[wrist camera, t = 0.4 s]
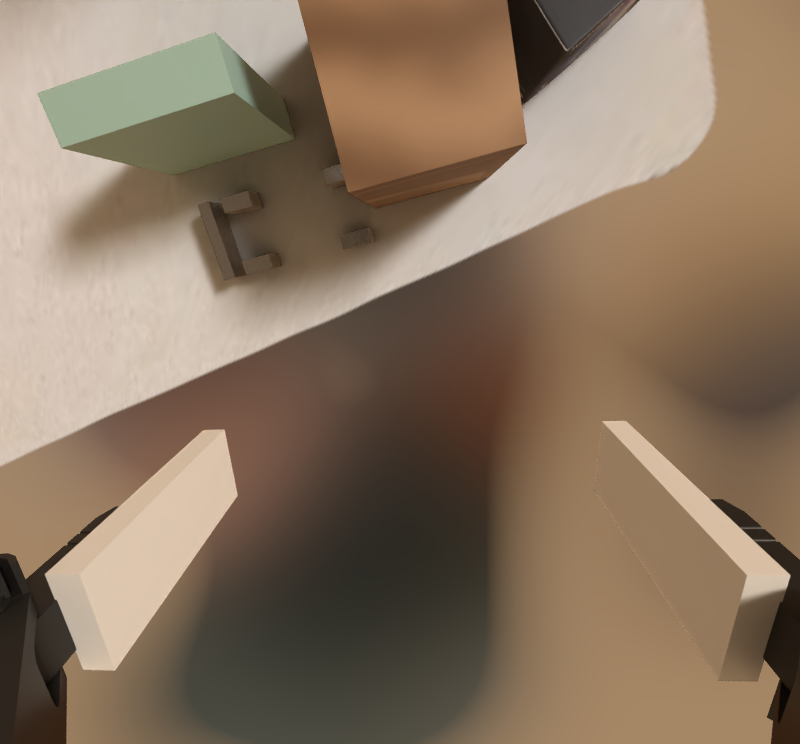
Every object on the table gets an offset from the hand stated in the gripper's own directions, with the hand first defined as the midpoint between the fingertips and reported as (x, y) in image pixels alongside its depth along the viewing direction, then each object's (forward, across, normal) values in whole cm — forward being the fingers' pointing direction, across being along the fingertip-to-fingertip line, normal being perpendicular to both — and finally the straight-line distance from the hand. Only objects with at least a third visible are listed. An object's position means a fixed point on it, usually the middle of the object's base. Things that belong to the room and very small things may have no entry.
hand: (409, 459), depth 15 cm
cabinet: (+26, 0, +18) cm, 32 cm away
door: (+27, -16, +16) cm, 35 cm away
